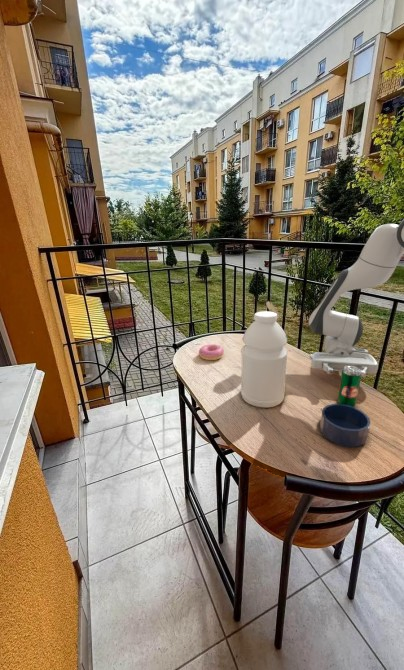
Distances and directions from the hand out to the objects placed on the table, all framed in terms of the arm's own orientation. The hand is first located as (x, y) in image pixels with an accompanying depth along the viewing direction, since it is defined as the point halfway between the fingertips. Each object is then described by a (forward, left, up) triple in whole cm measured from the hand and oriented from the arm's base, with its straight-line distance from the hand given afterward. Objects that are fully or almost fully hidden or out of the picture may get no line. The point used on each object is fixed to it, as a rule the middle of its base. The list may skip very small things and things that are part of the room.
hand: (346, 373), depth 89 cm
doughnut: (+44, -29, -7) cm, 54 cm away
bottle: (+26, +2, -7) cm, 27 cm away
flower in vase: (+21, -23, -7) cm, 32 cm away
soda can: (+1, +6, -7) cm, 10 cm away
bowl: (+7, +19, -7) cm, 22 cm away
